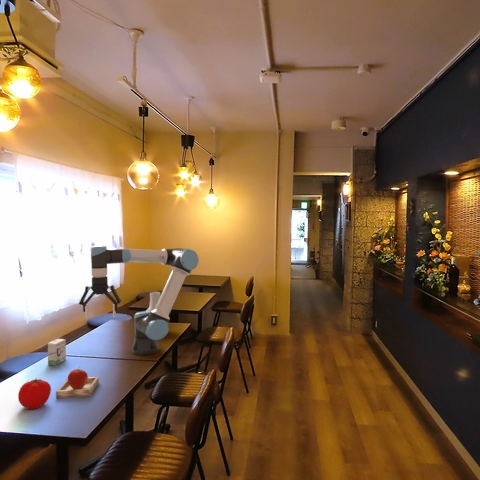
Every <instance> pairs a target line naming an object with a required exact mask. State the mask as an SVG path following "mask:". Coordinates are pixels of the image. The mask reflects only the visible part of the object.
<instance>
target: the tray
mask: <svg viewBox="0 0 480 480" xmlns="http://www.w3.org/2000/svg"><path fill="white" fill-rule="evenodd" d="M99 381H100V379H99V376H90V377H89V376H88V380H87V383H86V384H85V386H83V387H82V388H80V389H73V388H72V387H71V386H70V385H69V382H68V377H67V379H65V381H64V382H63V383H62V384H61V385H60V386H59V388H58V389H57V390H56V391H55V398H56V399H70V398H71V399H72V398H87V397H88V398H90V397H91V396H92V394H93V393H94V392H95V390H96V388H97V387H98V385H99V383H100V382H99Z"/></svg>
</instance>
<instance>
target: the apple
mask: <svg viewBox="0 0 480 480" xmlns="http://www.w3.org/2000/svg"><path fill="white" fill-rule="evenodd" d="M88 377H89V376H88V373H87V372H86V371H85V370H84V369H80V368H75V369H73V370H72V371H70V372H69V374H68V375H67V378H68V382H69V385H70V386H71V387H72V388H73V389H80V388H82V387H83V386H85V384H86V383H87V380H88Z"/></svg>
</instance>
